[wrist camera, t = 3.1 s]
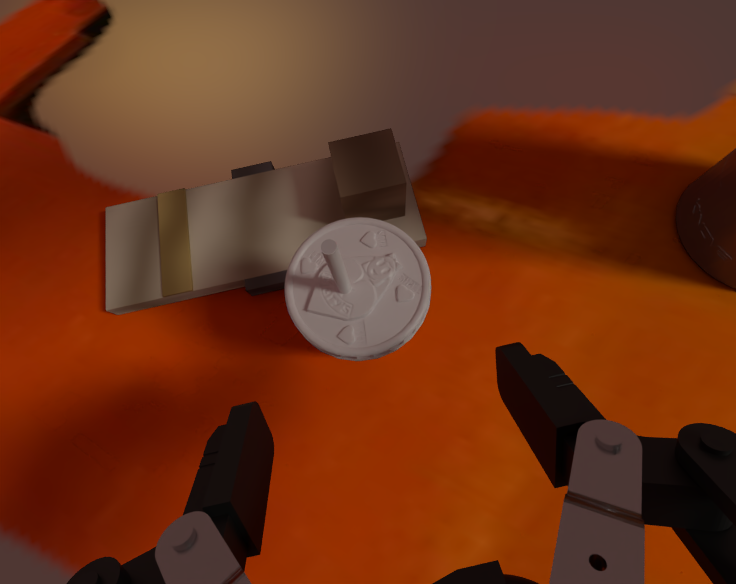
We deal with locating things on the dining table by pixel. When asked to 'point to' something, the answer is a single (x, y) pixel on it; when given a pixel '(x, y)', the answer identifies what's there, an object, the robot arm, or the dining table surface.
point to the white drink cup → (358, 288)
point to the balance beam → (250, 223)
